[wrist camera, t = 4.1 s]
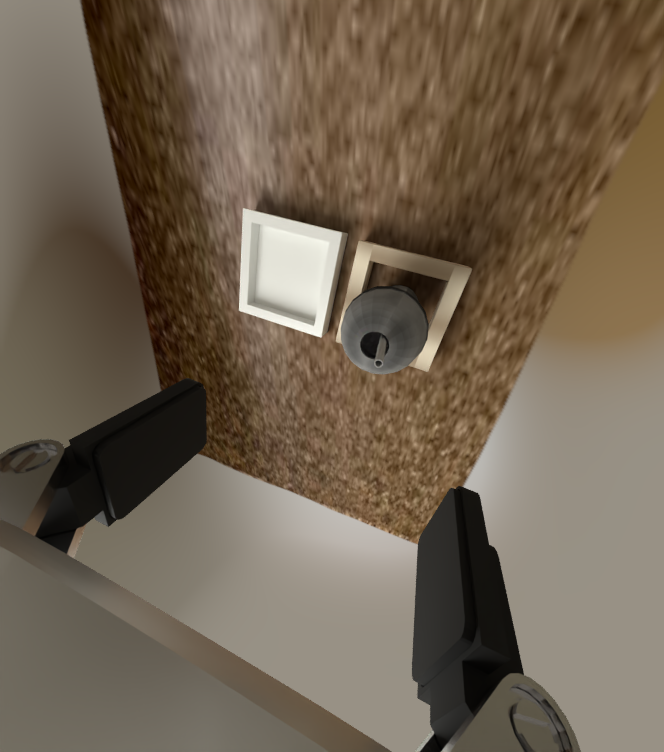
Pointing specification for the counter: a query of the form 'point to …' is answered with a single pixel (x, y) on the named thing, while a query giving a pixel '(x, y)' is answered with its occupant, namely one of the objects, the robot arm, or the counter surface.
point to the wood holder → (418, 264)
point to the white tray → (289, 271)
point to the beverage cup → (384, 329)
